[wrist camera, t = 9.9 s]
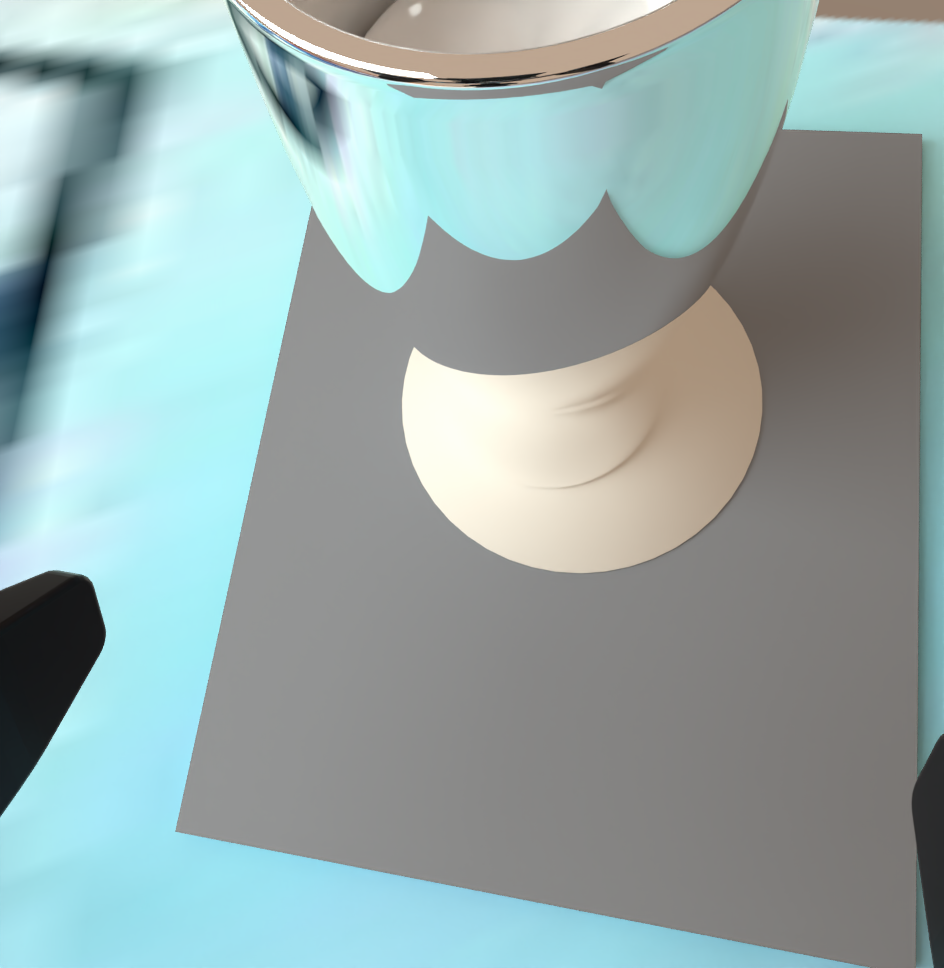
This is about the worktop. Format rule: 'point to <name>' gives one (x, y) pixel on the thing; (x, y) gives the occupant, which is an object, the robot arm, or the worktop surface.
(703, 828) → the slate mat
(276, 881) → the worktop surface
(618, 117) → the beer glass
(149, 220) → the worktop surface
